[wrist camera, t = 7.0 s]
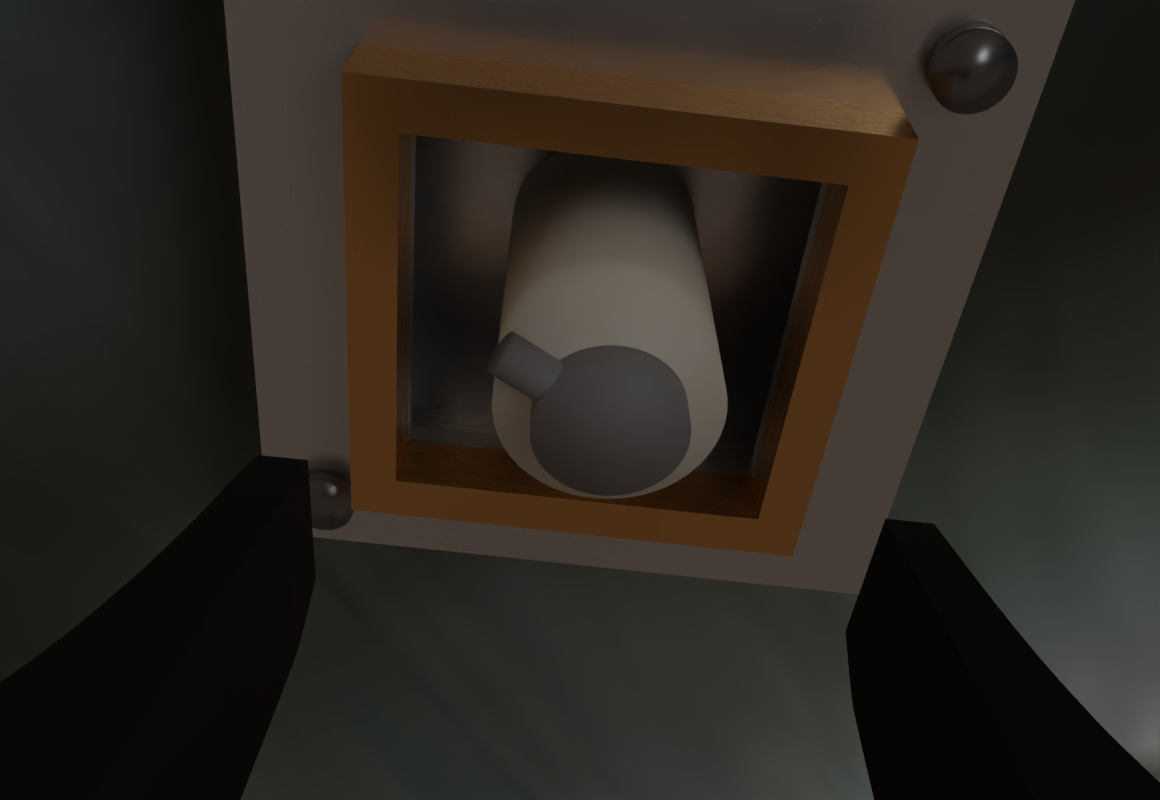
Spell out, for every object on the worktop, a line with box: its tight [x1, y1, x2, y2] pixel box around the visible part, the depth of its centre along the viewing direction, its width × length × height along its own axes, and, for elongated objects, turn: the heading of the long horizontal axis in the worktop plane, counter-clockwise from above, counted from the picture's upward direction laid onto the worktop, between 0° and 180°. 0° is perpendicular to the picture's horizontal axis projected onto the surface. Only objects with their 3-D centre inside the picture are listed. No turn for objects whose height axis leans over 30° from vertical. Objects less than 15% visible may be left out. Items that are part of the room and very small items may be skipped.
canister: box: [487, 152, 728, 499], centre depth 19 cm, size 4×4×7 cm
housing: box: [224, 0, 1075, 595], centre depth 20 cm, size 12×12×5 cm
